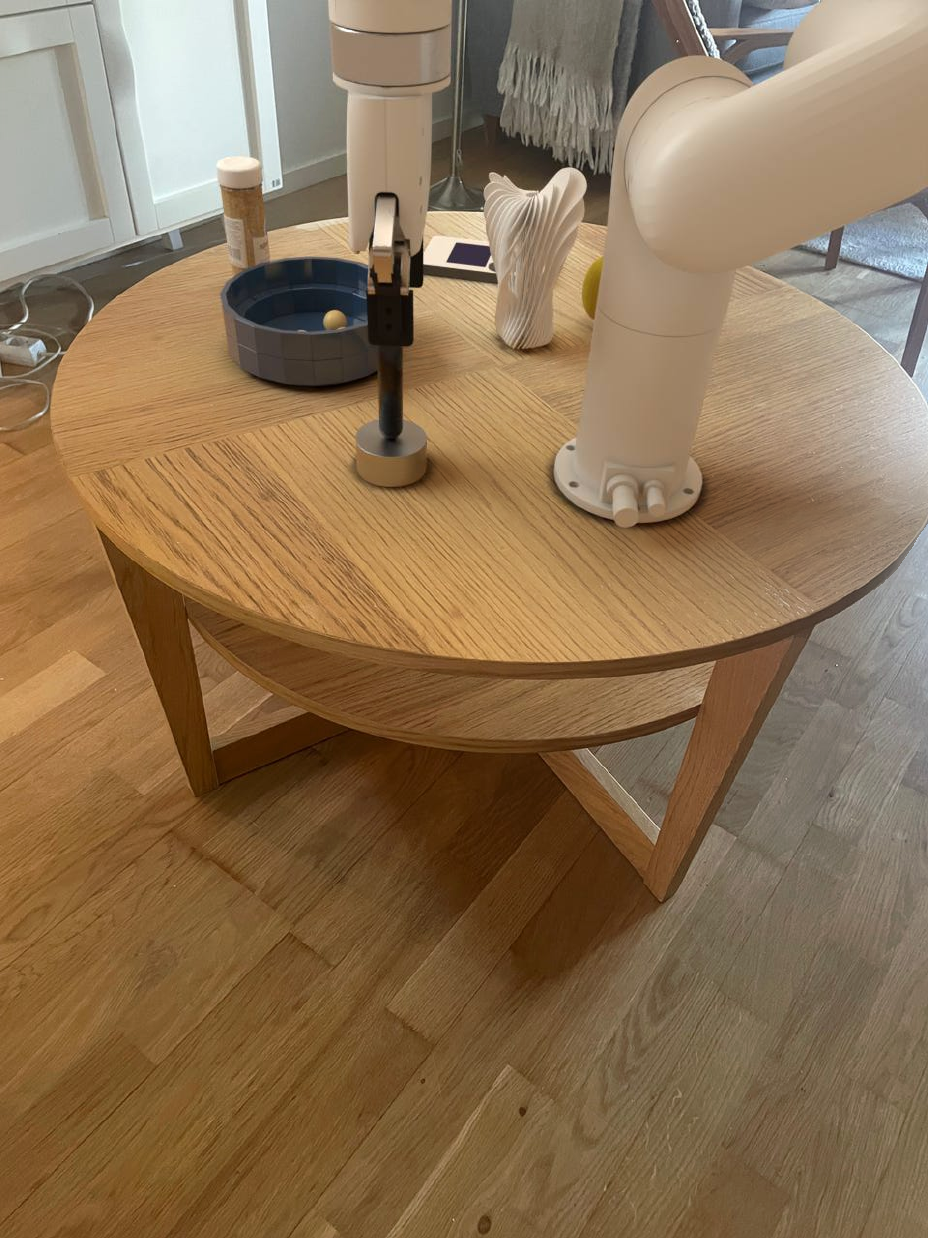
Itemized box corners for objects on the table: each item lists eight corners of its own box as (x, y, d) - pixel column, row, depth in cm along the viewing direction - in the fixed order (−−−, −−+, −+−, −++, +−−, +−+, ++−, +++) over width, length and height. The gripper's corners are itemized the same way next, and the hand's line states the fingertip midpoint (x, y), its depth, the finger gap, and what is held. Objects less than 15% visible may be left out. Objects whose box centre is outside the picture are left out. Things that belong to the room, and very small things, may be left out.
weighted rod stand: (423, 489, 77) (426, 293, 65) (352, 485, 77) (342, 288, 65) (428, 449, 82) (432, 259, 70) (361, 445, 82) (353, 254, 70)
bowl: (391, 397, 88) (390, 339, 83) (211, 387, 88) (201, 328, 83) (406, 316, 100) (406, 261, 96) (248, 306, 100) (241, 251, 96)
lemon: (626, 340, 98) (639, 266, 92) (574, 333, 99) (584, 259, 93) (630, 318, 102) (642, 245, 96) (580, 311, 103) (590, 239, 97)
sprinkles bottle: (279, 294, 103) (266, 166, 93) (239, 300, 101) (222, 171, 92) (266, 278, 105) (253, 152, 96) (227, 284, 104) (210, 156, 95)
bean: (324, 310, 95) (315, 323, 93) (341, 302, 93) (331, 314, 92) (338, 329, 96) (329, 342, 95) (355, 321, 95) (346, 334, 93)
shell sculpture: (469, 330, 98) (479, 148, 86) (540, 320, 101) (558, 142, 88) (499, 366, 93) (514, 179, 80) (573, 355, 95) (598, 171, 83)
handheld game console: (434, 244, 114) (434, 233, 114) (553, 258, 113) (554, 247, 112) (417, 272, 108) (417, 261, 107) (543, 289, 106) (544, 277, 105)
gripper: (349, 21, 64) (361, 264, 76) (309, 89, 52) (331, 367, 64) (457, 26, 64) (452, 268, 76) (443, 95, 52) (440, 372, 63)
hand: (397, 313), depth 70 cm, fingers open, 9 cm apart
